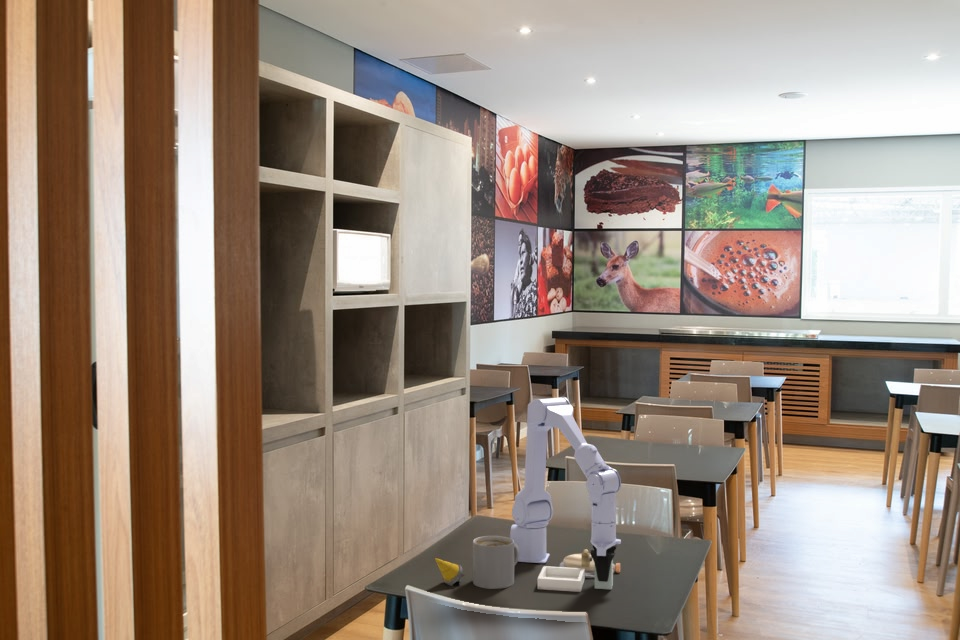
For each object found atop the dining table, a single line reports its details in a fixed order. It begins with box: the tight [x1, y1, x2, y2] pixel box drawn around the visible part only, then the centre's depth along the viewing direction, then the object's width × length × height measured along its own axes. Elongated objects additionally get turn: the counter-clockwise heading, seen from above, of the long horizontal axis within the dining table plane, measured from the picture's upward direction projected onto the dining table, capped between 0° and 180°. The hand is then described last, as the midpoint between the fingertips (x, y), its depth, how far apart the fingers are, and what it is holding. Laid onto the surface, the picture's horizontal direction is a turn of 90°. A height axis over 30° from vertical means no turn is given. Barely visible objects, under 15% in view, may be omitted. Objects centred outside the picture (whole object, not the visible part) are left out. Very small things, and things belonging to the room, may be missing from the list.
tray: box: [537, 565, 586, 593], centre depth 209 cm, size 10×10×2 cm
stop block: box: [594, 558, 614, 590], centre depth 207 cm, size 4×4×7 cm
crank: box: [563, 548, 595, 572], centre depth 220 cm, size 13×12×5 cm
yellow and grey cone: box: [434, 557, 465, 586], centre depth 209 cm, size 5×5×10 cm
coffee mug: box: [472, 535, 519, 590], centre depth 211 cm, size 13×10×10 cm
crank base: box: [559, 560, 621, 579], centre depth 220 cm, size 15×14×2 cm
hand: (603, 578), depth 207 cm, fingers closed on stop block, 4 cm apart
